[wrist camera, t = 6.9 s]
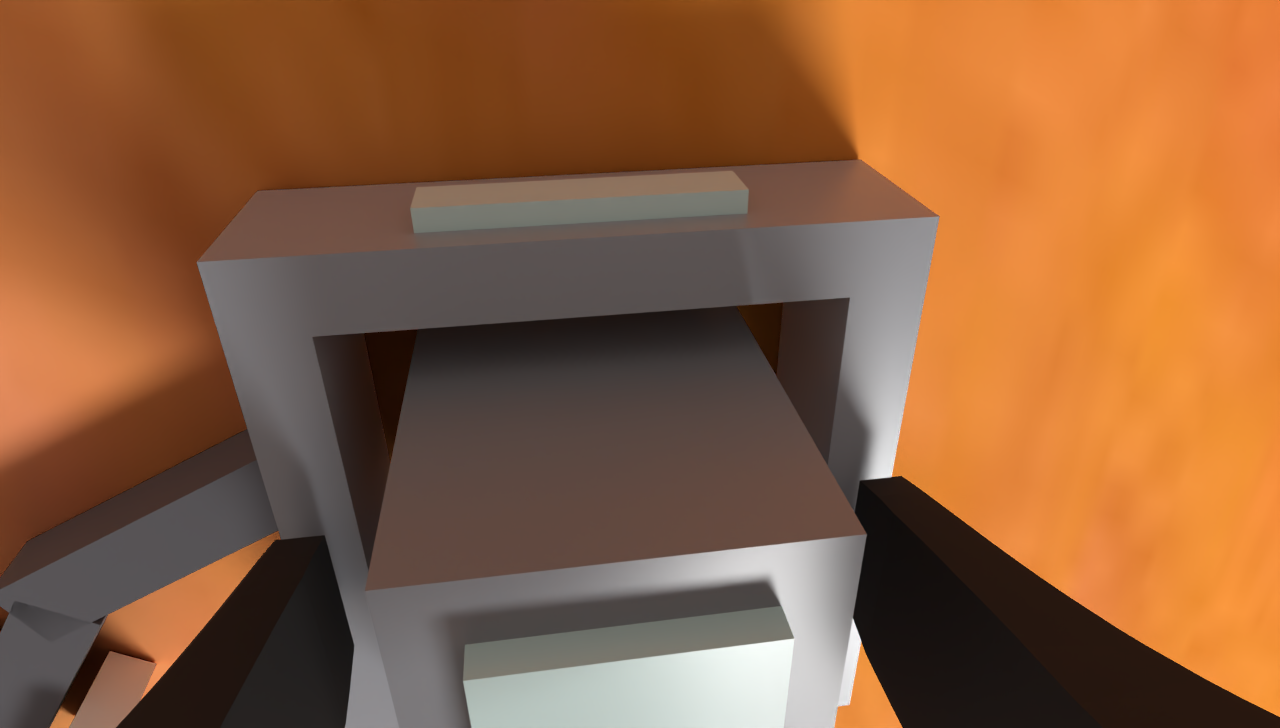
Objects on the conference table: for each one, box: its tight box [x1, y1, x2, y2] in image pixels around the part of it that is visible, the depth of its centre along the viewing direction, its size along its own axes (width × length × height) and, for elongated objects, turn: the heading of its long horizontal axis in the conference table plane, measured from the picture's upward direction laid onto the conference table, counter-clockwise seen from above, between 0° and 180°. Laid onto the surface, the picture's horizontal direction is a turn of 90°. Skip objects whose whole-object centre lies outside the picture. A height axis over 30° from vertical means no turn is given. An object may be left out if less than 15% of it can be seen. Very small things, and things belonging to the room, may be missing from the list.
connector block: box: [365, 306, 867, 728], centre depth 11 cm, size 4×6×6 cm
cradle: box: [197, 160, 939, 728], centre depth 12 cm, size 8×9×2 cm
